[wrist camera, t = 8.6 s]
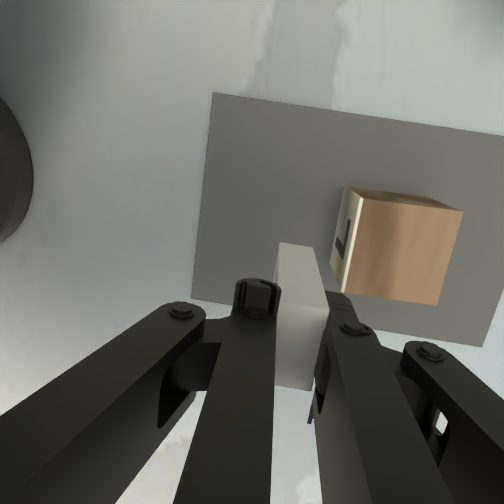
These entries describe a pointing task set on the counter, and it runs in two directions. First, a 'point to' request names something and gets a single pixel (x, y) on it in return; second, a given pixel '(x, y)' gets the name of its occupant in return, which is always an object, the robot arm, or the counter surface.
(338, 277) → the walnut cube
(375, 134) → the rubber mat
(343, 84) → the counter surface
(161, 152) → the counter surface
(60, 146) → the counter surface
